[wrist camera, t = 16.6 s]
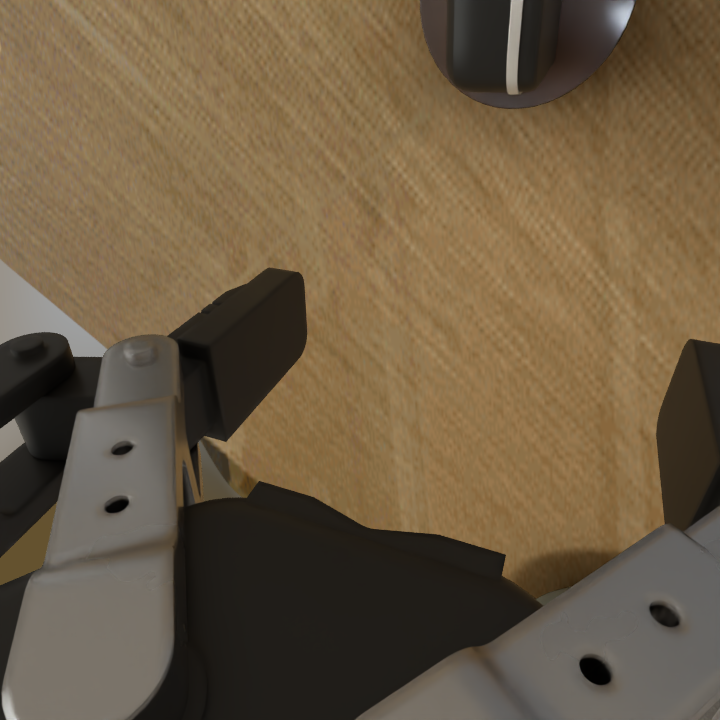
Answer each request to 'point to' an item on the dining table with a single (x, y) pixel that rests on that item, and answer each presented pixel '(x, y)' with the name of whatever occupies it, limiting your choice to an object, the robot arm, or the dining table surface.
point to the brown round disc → (573, 52)
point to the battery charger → (501, 43)
